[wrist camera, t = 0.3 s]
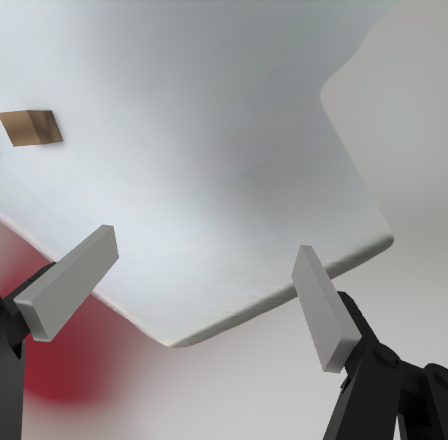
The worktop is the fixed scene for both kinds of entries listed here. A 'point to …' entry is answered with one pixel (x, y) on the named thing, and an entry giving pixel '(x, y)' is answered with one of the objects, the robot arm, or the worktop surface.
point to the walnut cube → (30, 127)
